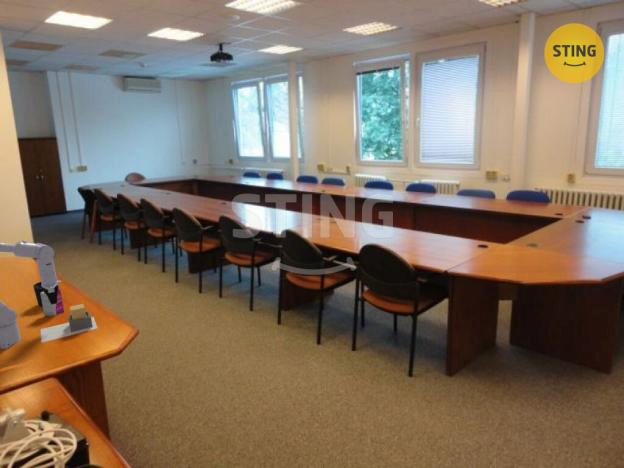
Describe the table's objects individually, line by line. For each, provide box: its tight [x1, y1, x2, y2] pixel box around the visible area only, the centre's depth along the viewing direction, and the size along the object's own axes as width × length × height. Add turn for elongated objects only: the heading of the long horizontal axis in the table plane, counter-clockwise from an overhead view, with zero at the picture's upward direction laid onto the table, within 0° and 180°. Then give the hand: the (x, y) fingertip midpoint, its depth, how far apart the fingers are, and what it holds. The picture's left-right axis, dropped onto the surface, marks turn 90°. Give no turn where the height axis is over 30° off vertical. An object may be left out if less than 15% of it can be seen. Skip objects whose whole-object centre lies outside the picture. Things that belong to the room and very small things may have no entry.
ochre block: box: [69, 303, 86, 321], centre depth 182 cm, size 5×5×5 cm
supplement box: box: [40, 288, 65, 318], centre depth 198 cm, size 6×6×12 cm
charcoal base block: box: [67, 310, 93, 332], centre depth 183 cm, size 8×8×4 cm
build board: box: [40, 316, 98, 344], centre depth 182 cm, size 20×14×1 cm
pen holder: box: [32, 281, 43, 307], centre depth 211 cm, size 9×9×10 cm
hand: (54, 303), depth 184 cm, fingers closed
